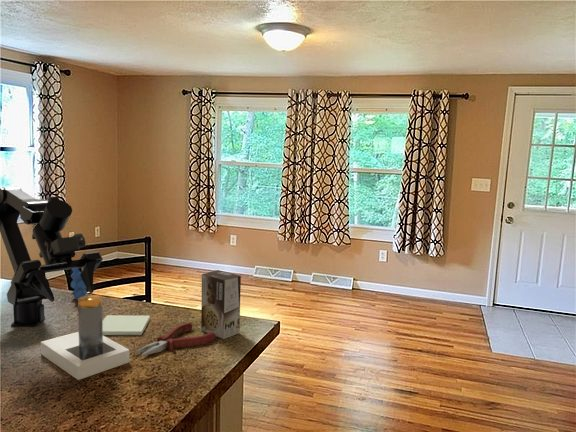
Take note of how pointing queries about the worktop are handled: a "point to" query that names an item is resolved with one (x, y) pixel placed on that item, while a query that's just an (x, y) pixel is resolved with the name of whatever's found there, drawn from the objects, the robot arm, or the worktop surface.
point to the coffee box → (221, 303)
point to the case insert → (67, 358)
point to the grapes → (77, 284)
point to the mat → (124, 325)
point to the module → (90, 326)
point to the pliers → (176, 340)
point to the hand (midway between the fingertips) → (73, 296)
